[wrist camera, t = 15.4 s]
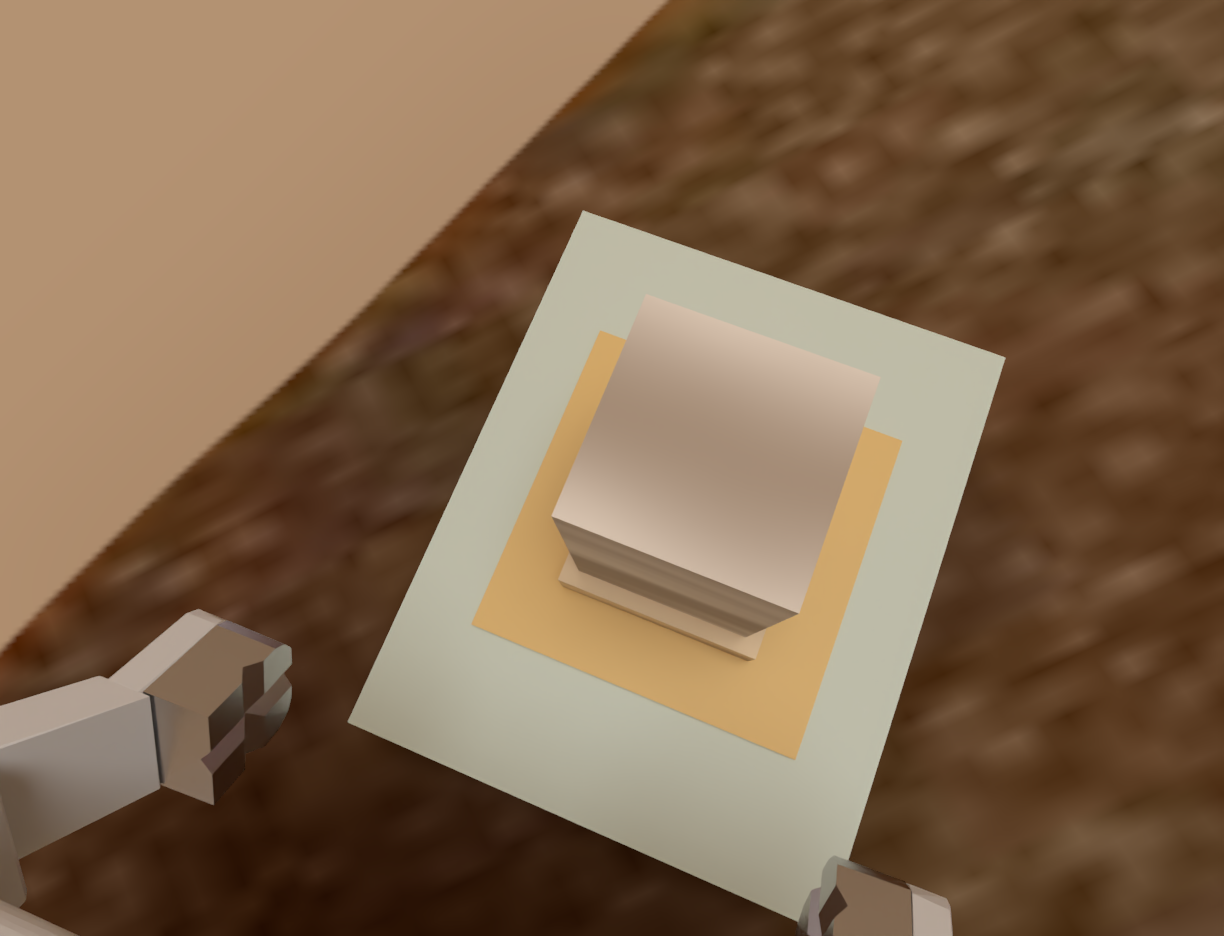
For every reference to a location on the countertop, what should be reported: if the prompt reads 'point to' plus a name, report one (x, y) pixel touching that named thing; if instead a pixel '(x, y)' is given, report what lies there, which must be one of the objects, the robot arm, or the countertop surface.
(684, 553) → the block
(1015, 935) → the countertop surface
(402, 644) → the loading dock
